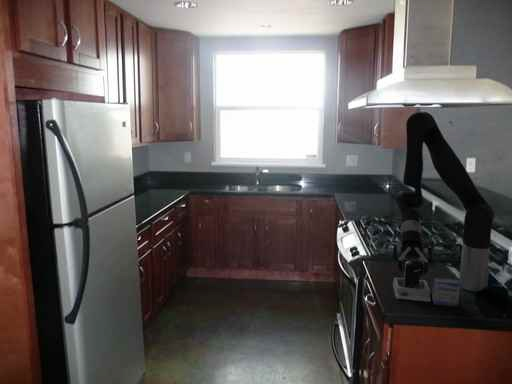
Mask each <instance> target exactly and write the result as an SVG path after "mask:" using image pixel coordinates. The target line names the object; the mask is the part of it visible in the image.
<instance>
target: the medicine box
mask: <svg viewBox="0 0 512 384" xmlns="http://www.w3.org/2000/svg"><path fill="white" fill-rule="evenodd" d="M432 283H433V284H432V295H431V300H432V302H433V304H434V305H435V306H444V307H445V306H447V307H458V306H459V298H460V289H461V287H460V284H459V280H458V279H453V278H439V277H433V282H432Z"/></svg>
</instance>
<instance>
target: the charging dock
mask: <svg viewBox="0 0 512 384" xmlns="http://www.w3.org/2000/svg"><path fill="white" fill-rule="evenodd" d="M419 285H420V289H415V288H405V287H403V277H394V278H393V282H392V286H393V289H394V294H395V298H396V299H397V300H398V299H399V300H400V299H401V300H410V301H419V302H431V300H432V298H431V297H430V296H431V289H430V287H429V284H428V283H427V280H424V279H419Z"/></svg>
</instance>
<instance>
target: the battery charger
mask: <svg viewBox="0 0 512 384" xmlns="http://www.w3.org/2000/svg"><path fill="white" fill-rule="evenodd" d="M423 275H424V271H423V263H422V262H421V261H420V260H419V259H412V260H407V261H405V263H404V265H403V270H402V278H403V287H405V288H415V289H420V285H419V280H421V279H420V277H421V276H423Z"/></svg>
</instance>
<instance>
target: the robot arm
mask: <svg viewBox="0 0 512 384" xmlns="http://www.w3.org/2000/svg"><path fill="white" fill-rule="evenodd" d="M405 127H406V128H405V129H406V132H405V133H406V155H405V163H404V164H405V165H404V171H403V178H402V182H403V185H404V186H407V187H410V188H413V190H414V191H412V190H411V191H409V190H400V191H399V192H397V194H396V196H395V201H396V207H397V208H398V210H399V214H400V218H401V219H400V220H401V227H400V235H401V236H400V237H401V239H400V241H401V242H400V243H401V246H398V245H397V244H394V245H393V248H392V261H393V262H396V263H397V270H398V271H399V273H403V261H404V260H405V259H406V258H407V259H412V260H418V261H420V262H422V263H423V275H427V274H428V272H429V265H432V264H433V262H434V257H433V250H432V247H430V246H429V247H427V248H424V247H423V240H422V239H423V238H422V227H421V219H420V213H419V211H418V210H416V209H420V208H421V207H422V205H424V197H423V191H422V179H423V171H424V157H423V156H424V155H423V154H424V153H423V148H424V144H425V146H426V148H427V150H428V152H429V156H430V159H431V162H432V165H433V167H434V169H435V171H436V173H437V175H438V176H439V178H440V179H441V181H442V182H443V184H445V185H446V187H448V189H449V190H451V192H452V193H454V194H455V195H456V197H458V199H459V201H460V202H461V204H462V206H463V207H464V210H465V214H464V215H465V216H464V218H463V229H462V230H463V231H462V239H463V240H462V249H461V258H460V268H459V275H458V276H459V278H458V282H459V284H460V289H463V290H466V291H469V292H475V293H478V292H477V291H480V290H481V289H483V288H485V287H487V288H488V282H489V274H490V267H489V257H490V251H491V243H492V241H491V240H492V239H491V236H492V227H493V222H494V220H495V211H494V210H493V208H492V207H491V205H490V204H489V203H488V202H487V201H486V199H485V198H484V197H483V195H482V194H481V193H480V191H479V190H478V189H477V187H476V186H475V184H474V182H473V180H472V178H471V176H470V174H469V172H468V171H467V169H466V168H465V166H464V165H463V163H462V161H461V160H460V159H459V157H458V156H457V154H456V153H455V151H454V150H453V148H452V147H451V146H450V144H449V143H448V142H447V140H446V139H445V137H444V135H443V133H442V131H441V130H440V128H439V126H438V123H437V122H436V119H435V118H434V116H433V115H432V114H430V113H429V112H428V111H427V112H426V111H418V112H414V113H412V114H410V115H409V117H407V120H406V123H405ZM399 251H401V255H400V256H399V257H397V256H398V255H397V254H398V253H399ZM424 253H425V255H427V256H425V255H424ZM426 257H427V258H426Z"/></svg>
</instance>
